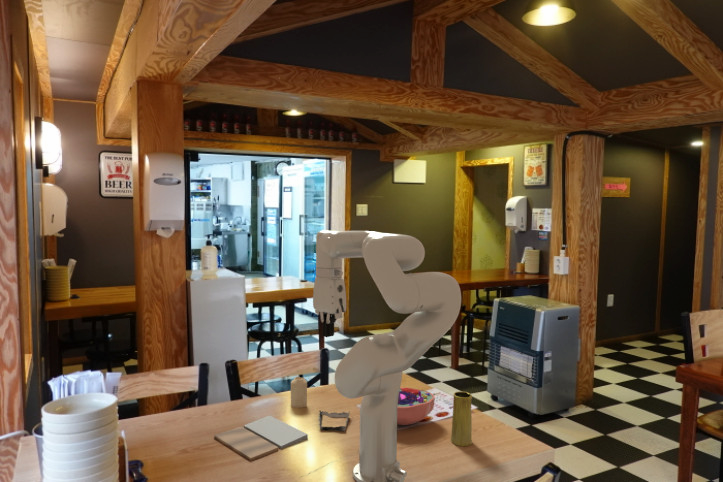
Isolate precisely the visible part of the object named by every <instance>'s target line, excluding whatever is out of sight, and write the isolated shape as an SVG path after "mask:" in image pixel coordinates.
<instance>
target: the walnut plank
mask: <svg viewBox="0 0 723 482" xmlns="http://www.w3.org/2000/svg"><path fill="white" fill-rule="evenodd" d="M213 435H214V436H213V438H214V439H215V440H217V441H218V442H220V443H222V444H223V445H225V446H226V447H228V448H229V449H231V450H232V451H234V452H236V453H237V454H239V455H241V456H242V457H243V458H245V459H247V460H248V461H249V462H252V461H254V460H257V459H259V458H261V457H264V456H267V455H270V454H272V453H275V452H277V451H279V447H277V446H275V445H273V444H272V443H270V442H268V441H266V440H264V439H263V438H261V437H259V436H257V435H256V434H254V433H252V432H250V431H248V430H247V429H245V428H244V426H237V427H235V428H232V429H229V430H226V431H223V432H220V433H217V434H213Z"/></svg>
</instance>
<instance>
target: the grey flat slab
mask: <svg viewBox="0 0 723 482" xmlns="http://www.w3.org/2000/svg"><path fill="white" fill-rule="evenodd" d="M243 428H245V429H247V430H248V431H250V432H252V433H254V434H256V435H257V436H259V437H261V438H263V439H264V440H266V441H268V442H270V443H272V444H273V445H275V446H277V447H278V449H280V450H282V449H285V448H287V447H290V446H292V445H295V444H298V443H301V442H303V441H305V440H308V438H309V437H308V433H305V432H303V431H302V430H300V429H298V428H296V427H294V426H292V425H290V424H288V423H286V422H285V421H282V420H280V419H278V418H276V417H274V416H272V415H267V416H264V417H262V418H260V419H256V420H254V421H252V422H249V423H247V424H244V425H243Z"/></svg>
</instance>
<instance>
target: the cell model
mask: <svg viewBox="0 0 723 482" xmlns="http://www.w3.org/2000/svg"><path fill="white" fill-rule="evenodd" d="M435 399H436V397H435V395H434V394H433V393H431V392H430V391H427V390H424V389H418V388H417V389H416V388H412V387H400V390H399V396H398V411H397V425H399V426H408V425H412V424H413V425H414V424H416V423H417V422H420V421H422V420H424V419H425V418H426V417H427V416H428V415H429V414H431V412H432V411H433V409H434V407H435Z"/></svg>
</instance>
